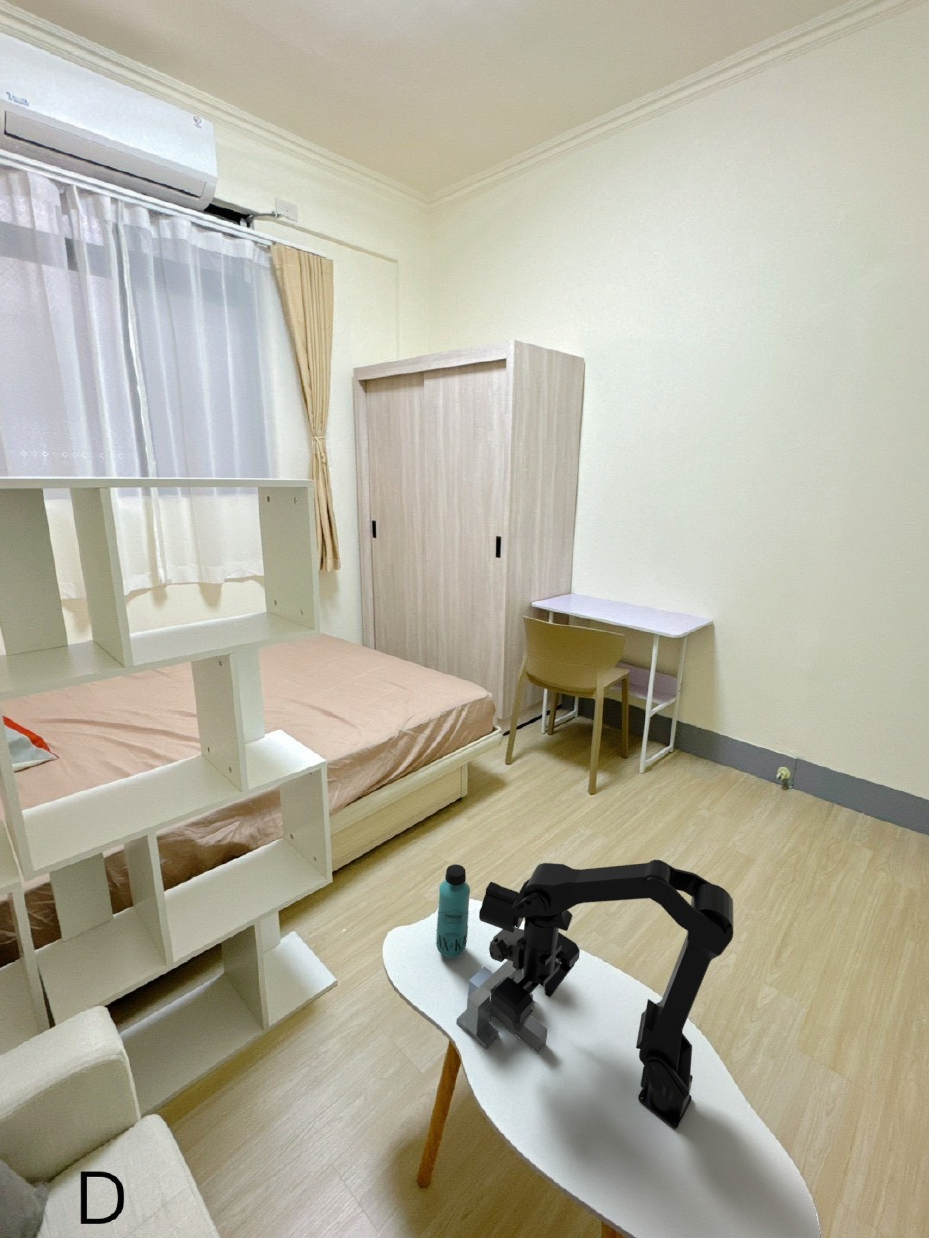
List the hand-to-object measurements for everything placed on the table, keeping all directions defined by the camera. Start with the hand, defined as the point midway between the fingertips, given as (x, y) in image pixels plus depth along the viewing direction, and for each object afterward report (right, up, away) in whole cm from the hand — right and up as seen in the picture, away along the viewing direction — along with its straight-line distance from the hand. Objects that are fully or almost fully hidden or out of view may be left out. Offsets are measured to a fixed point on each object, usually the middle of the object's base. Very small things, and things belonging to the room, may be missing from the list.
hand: (533, 1011), depth 101 cm
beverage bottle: (-15, -1, +20) cm, 25 cm away
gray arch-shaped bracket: (-6, -4, +7) cm, 10 cm away
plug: (-5, -5, +5) cm, 8 cm away
